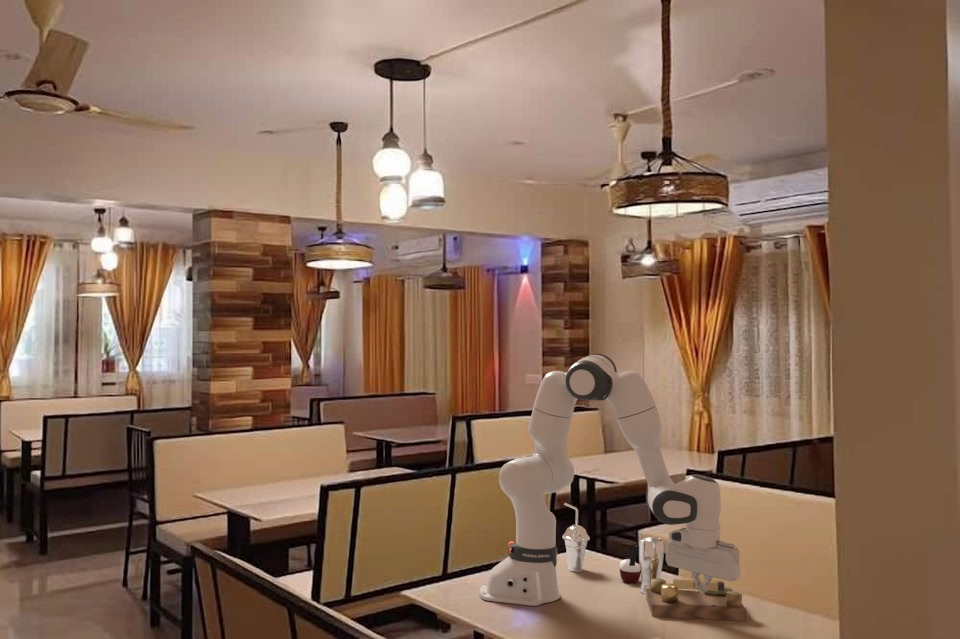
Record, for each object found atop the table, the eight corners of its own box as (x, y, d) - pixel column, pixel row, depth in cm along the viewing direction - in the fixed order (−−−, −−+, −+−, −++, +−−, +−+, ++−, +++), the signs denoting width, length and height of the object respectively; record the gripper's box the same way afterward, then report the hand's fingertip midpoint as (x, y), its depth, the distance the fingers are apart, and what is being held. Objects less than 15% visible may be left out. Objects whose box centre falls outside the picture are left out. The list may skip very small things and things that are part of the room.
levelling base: (652, 616, 215) (652, 593, 215) (646, 599, 229) (646, 577, 229) (745, 621, 213) (746, 597, 213) (734, 603, 227) (734, 581, 227)
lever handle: (662, 601, 217) (662, 581, 217) (660, 596, 221) (660, 576, 221) (725, 605, 215) (725, 584, 215) (721, 599, 220) (721, 579, 220)
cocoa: (621, 577, 250) (621, 537, 251) (642, 579, 248) (642, 539, 249) (617, 585, 241) (616, 543, 242) (638, 586, 239) (638, 545, 240)
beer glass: (662, 596, 232) (664, 543, 232) (637, 594, 233) (638, 541, 233) (662, 589, 238) (663, 537, 239) (638, 587, 240) (639, 535, 240)
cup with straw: (567, 574, 251) (568, 508, 251) (557, 566, 260) (558, 502, 260) (593, 572, 253) (594, 507, 254) (582, 564, 262) (583, 501, 262)
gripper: (745, 543, 211) (744, 597, 210) (675, 528, 225) (674, 579, 225) (733, 547, 206) (732, 602, 206) (663, 531, 221) (662, 583, 221)
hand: (701, 590), depth 216 cm, fingers closed
